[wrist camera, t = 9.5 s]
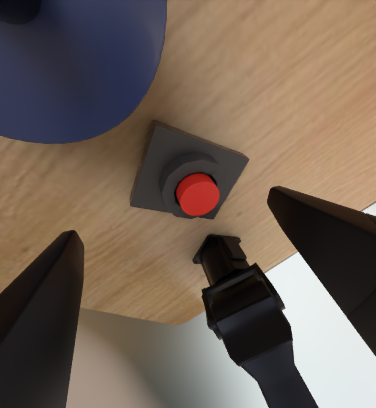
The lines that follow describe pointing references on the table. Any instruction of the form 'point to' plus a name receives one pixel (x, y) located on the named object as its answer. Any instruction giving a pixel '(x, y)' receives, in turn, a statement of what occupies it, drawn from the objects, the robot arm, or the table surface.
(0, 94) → the lid
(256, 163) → the table surface
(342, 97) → the table surface
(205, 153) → the switch block
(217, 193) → the button
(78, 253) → the robot arm
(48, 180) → the table surface
